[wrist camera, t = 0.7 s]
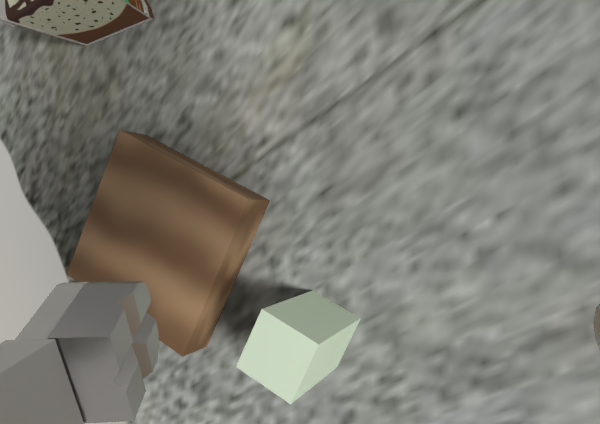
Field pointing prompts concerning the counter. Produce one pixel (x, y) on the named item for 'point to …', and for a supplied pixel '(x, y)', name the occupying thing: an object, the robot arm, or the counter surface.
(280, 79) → the counter surface
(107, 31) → the food container
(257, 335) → the sage block
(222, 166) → the counter surface
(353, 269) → the counter surface
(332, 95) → the counter surface
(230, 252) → the walnut base
